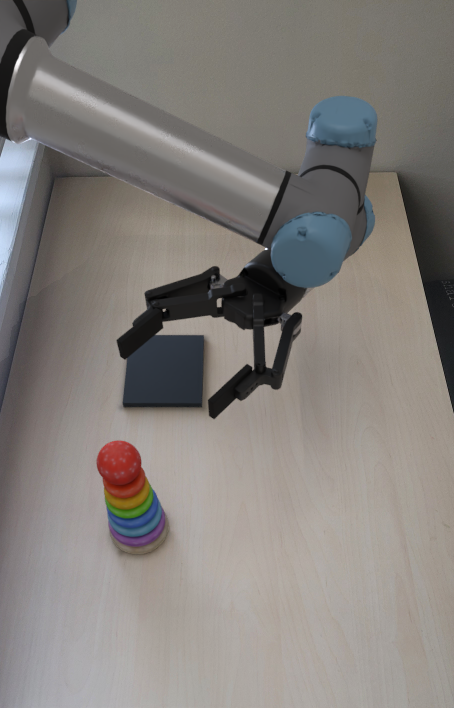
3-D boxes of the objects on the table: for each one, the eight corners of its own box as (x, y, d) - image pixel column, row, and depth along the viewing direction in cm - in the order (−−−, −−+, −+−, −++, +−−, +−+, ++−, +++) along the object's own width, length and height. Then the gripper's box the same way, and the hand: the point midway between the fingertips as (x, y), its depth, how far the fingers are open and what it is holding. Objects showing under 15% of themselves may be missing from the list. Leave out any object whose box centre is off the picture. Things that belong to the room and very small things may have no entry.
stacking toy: (165, 500, 89) (151, 418, 73) (172, 551, 85) (159, 476, 69) (108, 509, 88) (81, 427, 72) (113, 560, 84) (85, 487, 68)
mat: (123, 407, 97) (122, 403, 96) (130, 339, 104) (129, 334, 103) (202, 407, 97) (201, 403, 96) (204, 339, 104) (203, 334, 103)
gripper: (362, 344, 77) (251, 457, 69) (207, 258, 86) (92, 350, 78) (373, 296, 71) (252, 414, 63) (204, 207, 79) (79, 302, 71)
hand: (164, 379), depth 70 cm, fingers open, 13 cm apart
